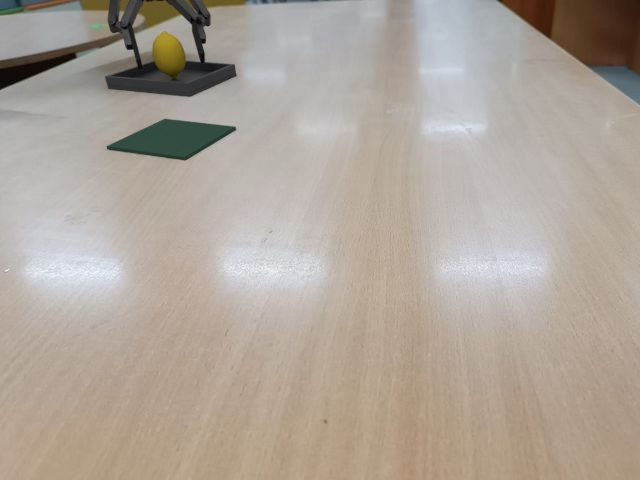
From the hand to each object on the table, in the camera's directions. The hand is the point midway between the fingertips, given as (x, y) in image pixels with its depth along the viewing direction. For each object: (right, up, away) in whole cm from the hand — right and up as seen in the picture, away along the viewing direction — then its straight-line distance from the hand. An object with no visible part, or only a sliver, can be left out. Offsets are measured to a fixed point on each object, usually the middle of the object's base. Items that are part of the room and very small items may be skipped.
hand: (171, 61), depth 90 cm
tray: (-1, -2, +5) cm, 5 cm away
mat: (+8, -19, -21) cm, 30 cm away
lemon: (-1, -2, +4) cm, 5 cm away
